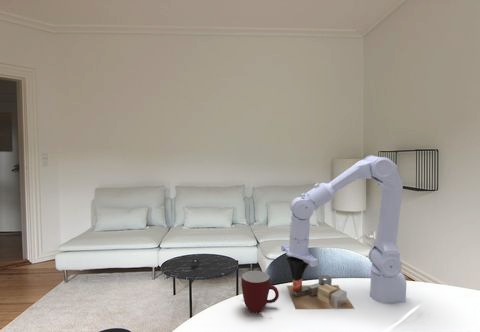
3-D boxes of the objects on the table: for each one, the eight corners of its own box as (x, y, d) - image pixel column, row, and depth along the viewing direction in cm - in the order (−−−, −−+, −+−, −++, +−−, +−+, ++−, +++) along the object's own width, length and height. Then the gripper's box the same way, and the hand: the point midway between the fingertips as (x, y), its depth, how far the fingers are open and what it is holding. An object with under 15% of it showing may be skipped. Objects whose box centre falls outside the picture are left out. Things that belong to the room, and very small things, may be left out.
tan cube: (325, 294, 100) (326, 283, 100) (336, 299, 97) (337, 288, 97) (317, 298, 98) (317, 287, 97) (328, 304, 94) (328, 292, 94)
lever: (325, 283, 107) (325, 269, 106) (335, 289, 103) (335, 274, 102) (289, 292, 100) (289, 277, 100) (298, 299, 96) (299, 283, 96)
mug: (276, 302, 97) (276, 270, 96) (280, 317, 89) (280, 282, 88) (240, 303, 97) (241, 270, 96) (241, 318, 89) (241, 282, 88)
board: (337, 288, 107) (337, 285, 107) (354, 311, 92) (354, 308, 92) (286, 288, 106) (286, 285, 106) (295, 312, 92) (295, 309, 92)
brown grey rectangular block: (340, 300, 96) (340, 289, 96) (346, 303, 95) (346, 291, 95) (330, 306, 93) (330, 294, 93) (336, 308, 92) (336, 297, 91)
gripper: (274, 232, 102) (271, 273, 103) (305, 246, 90) (301, 293, 91) (292, 229, 106) (289, 270, 107) (324, 243, 93) (320, 289, 94)
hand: (296, 280), depth 99 cm, fingers closed, pressing on lever
